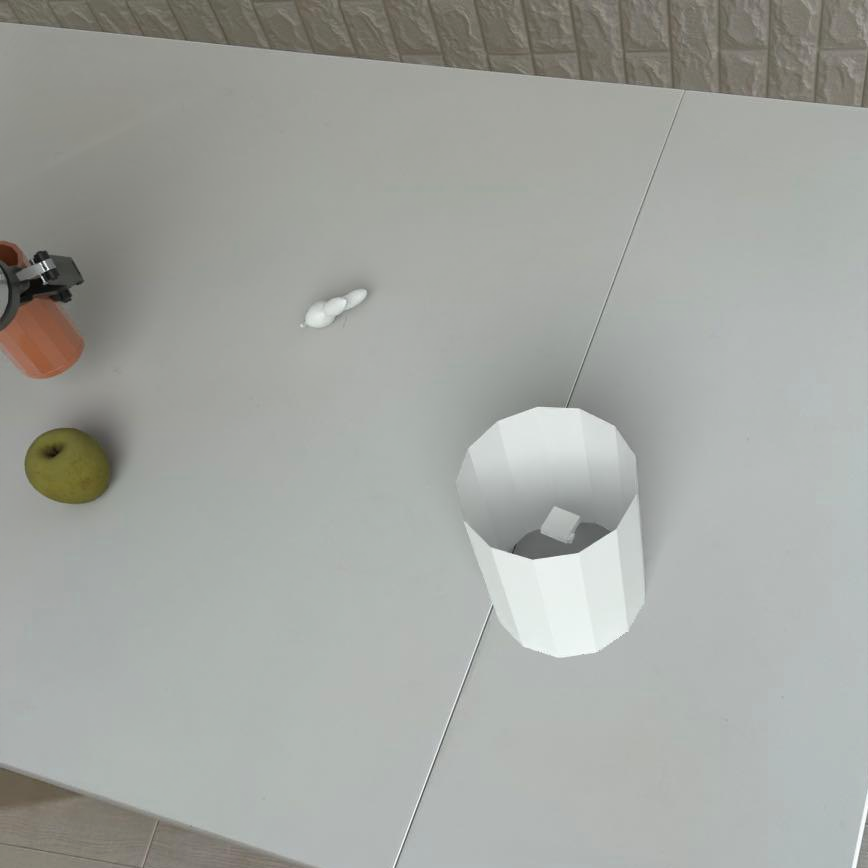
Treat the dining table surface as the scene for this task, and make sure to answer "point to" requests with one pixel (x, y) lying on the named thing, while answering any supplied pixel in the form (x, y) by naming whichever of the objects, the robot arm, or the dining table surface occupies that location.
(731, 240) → the dining table surface
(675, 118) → the dining table surface
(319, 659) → the dining table surface
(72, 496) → the apple
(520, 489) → the container
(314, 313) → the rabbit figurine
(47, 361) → the cup
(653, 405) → the dining table surface
